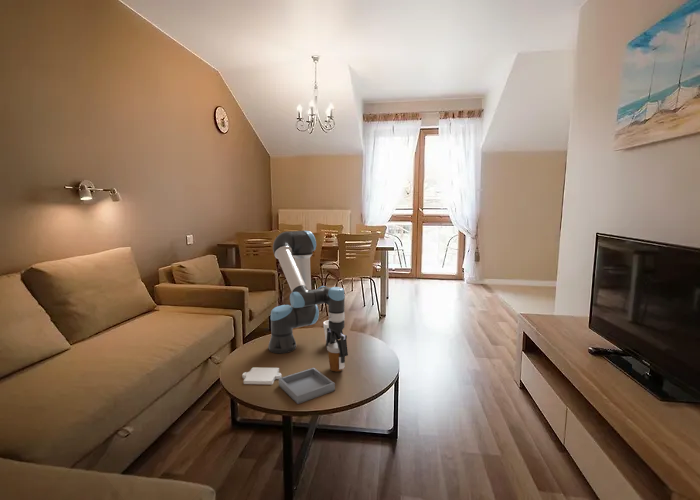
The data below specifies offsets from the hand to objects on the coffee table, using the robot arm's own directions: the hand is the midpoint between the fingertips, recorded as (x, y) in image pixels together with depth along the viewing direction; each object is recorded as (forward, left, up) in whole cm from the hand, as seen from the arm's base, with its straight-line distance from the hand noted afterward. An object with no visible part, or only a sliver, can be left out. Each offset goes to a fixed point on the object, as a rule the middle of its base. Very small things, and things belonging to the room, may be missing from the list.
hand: (336, 364), depth 175 cm
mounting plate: (-15, -32, -3) cm, 35 cm away
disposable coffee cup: (0, 0, -2) cm, 2 cm away
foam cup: (-28, +15, -3) cm, 32 cm away
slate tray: (+6, -20, -3) cm, 21 cm away
